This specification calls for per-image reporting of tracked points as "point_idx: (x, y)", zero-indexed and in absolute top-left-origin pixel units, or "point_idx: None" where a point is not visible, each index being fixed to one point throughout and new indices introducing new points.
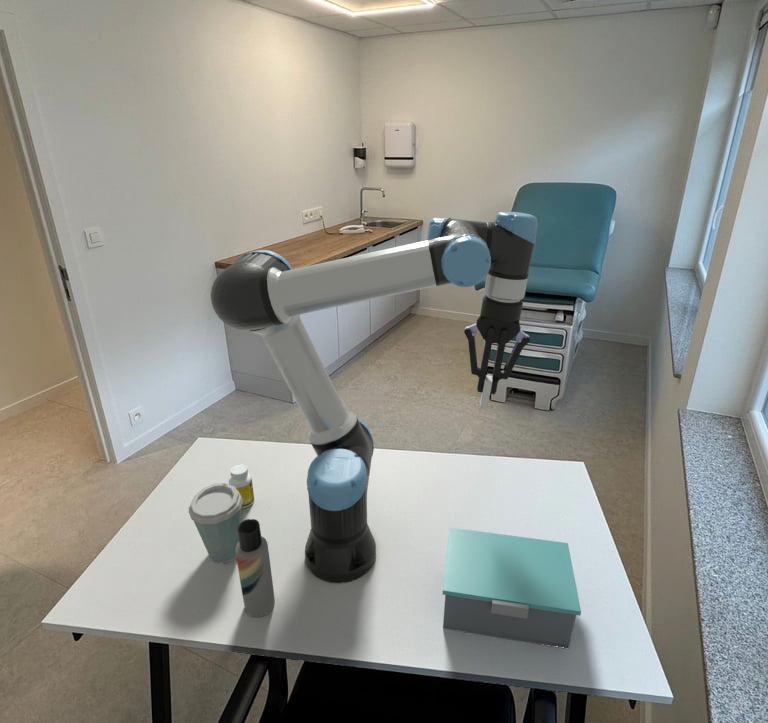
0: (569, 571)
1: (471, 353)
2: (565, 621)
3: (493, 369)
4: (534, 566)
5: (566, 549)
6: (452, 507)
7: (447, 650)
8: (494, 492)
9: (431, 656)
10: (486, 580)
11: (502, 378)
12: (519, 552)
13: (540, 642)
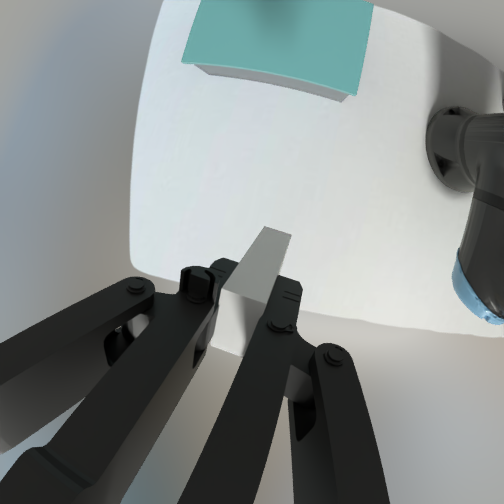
0: (199, 19)
1: (372, 490)
2: None
3: (195, 368)
4: (242, 21)
5: (187, 51)
6: (314, 209)
7: None
8: (245, 235)
9: None
10: (315, 5)
11: (158, 294)
12: (256, 41)
13: None
